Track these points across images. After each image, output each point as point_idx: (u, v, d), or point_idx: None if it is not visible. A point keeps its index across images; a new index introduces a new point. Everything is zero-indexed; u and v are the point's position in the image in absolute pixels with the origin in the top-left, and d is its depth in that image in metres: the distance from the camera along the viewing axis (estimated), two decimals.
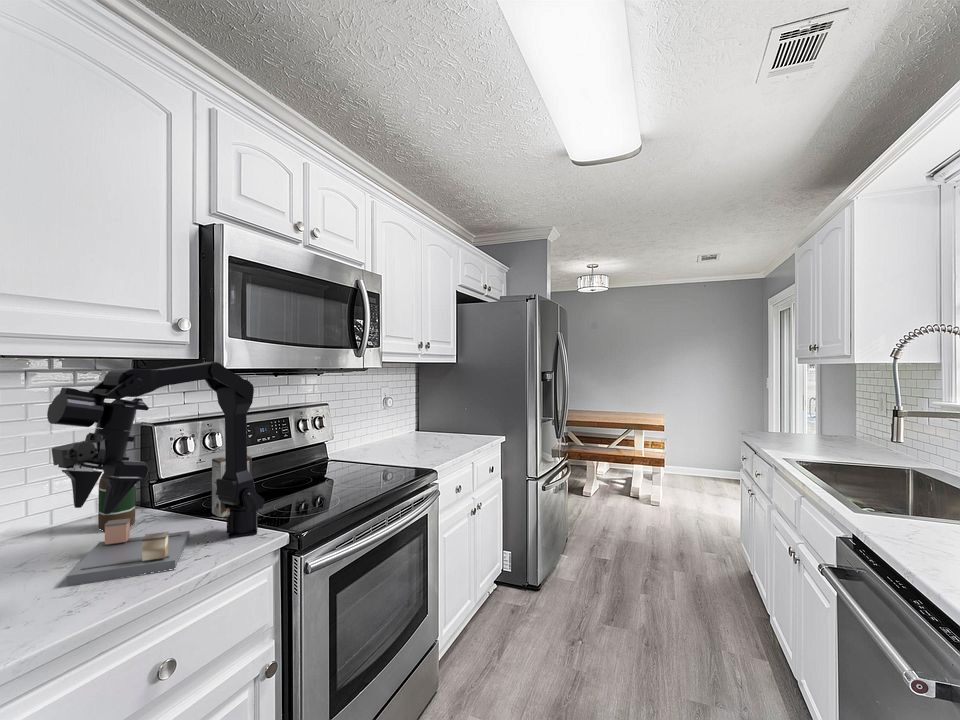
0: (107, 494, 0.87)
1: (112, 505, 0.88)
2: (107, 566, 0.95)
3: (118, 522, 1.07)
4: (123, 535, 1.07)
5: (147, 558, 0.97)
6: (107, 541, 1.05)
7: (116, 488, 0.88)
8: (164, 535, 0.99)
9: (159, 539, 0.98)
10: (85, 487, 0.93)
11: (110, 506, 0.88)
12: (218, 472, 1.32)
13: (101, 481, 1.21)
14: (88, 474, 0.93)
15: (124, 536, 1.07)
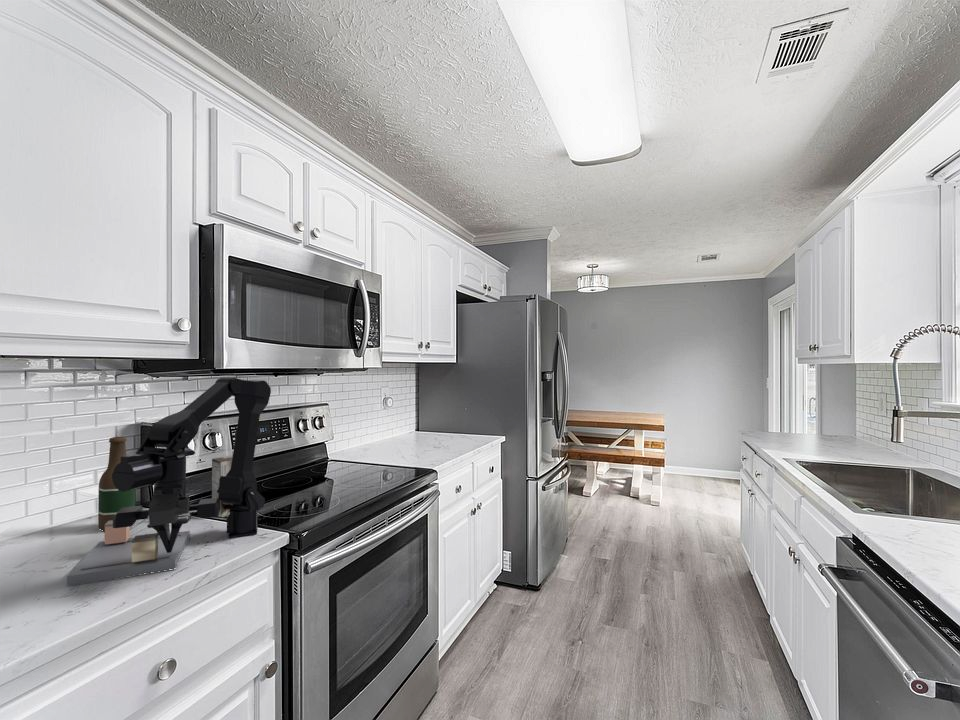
0: (173, 536, 0.99)
1: (174, 543, 1.00)
2: (107, 566, 0.95)
3: None
4: (123, 535, 1.07)
5: (137, 559, 0.96)
6: (107, 541, 1.05)
7: None
8: (154, 536, 0.98)
9: (149, 540, 0.97)
10: (168, 533, 1.00)
11: None
12: (218, 472, 1.32)
13: (101, 481, 1.21)
14: None
15: (124, 536, 1.07)
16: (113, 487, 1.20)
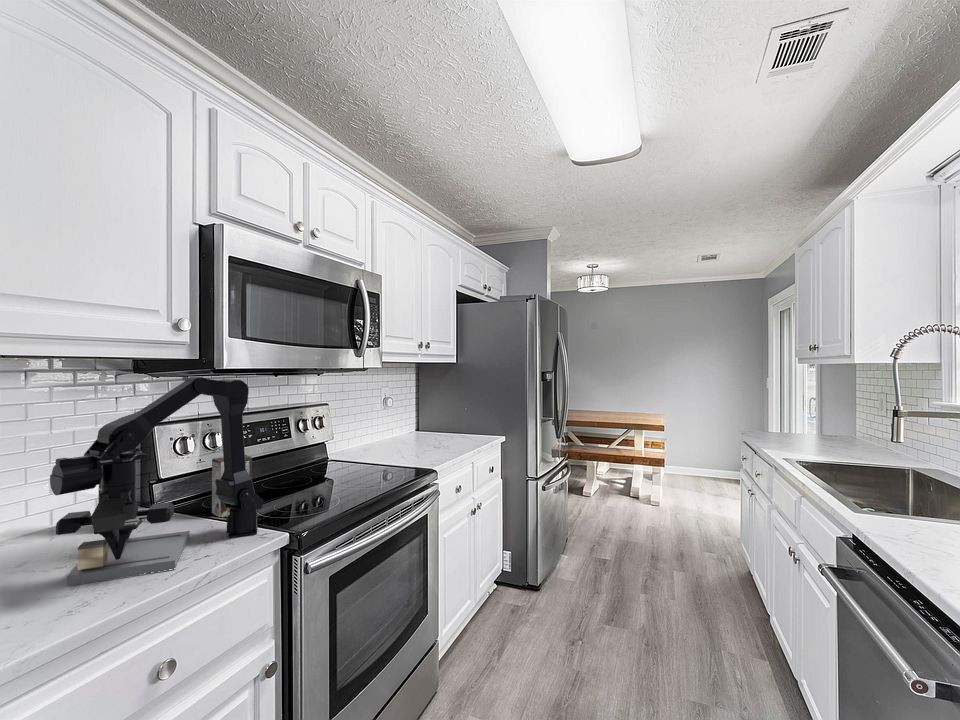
0: (122, 542, 0.95)
1: (123, 550, 0.97)
2: (107, 566, 0.95)
3: None
4: None
5: (83, 567, 0.93)
6: None
7: None
8: (102, 543, 0.94)
9: (96, 547, 0.93)
10: (117, 539, 0.96)
11: (121, 552, 0.96)
12: (218, 472, 1.32)
13: None
14: None
15: None
16: None
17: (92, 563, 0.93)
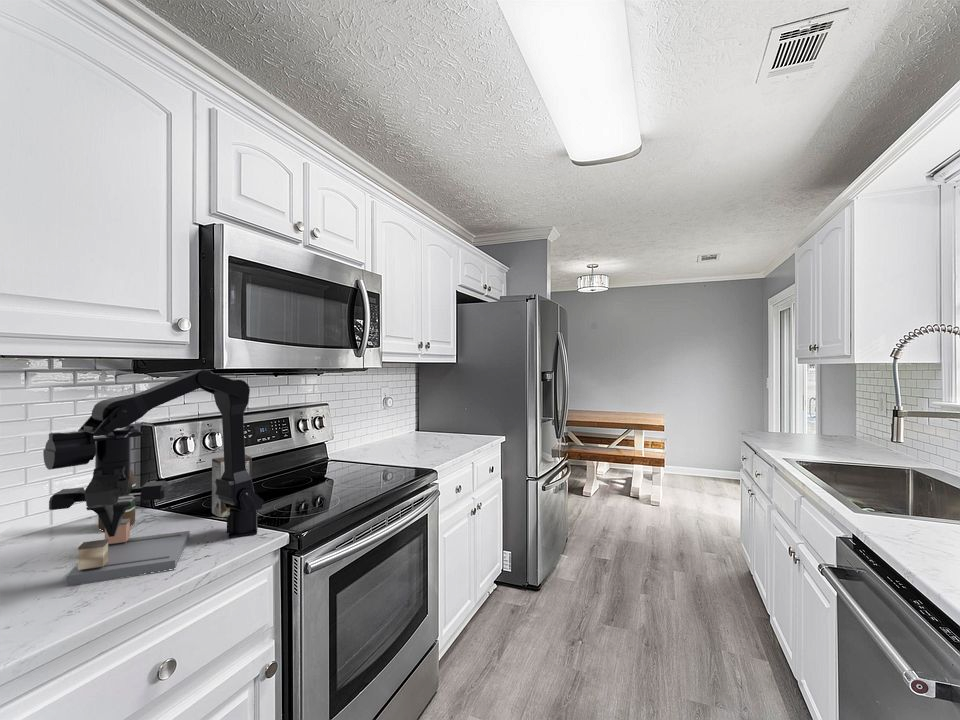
0: (116, 519, 0.95)
1: (117, 527, 0.96)
2: (107, 566, 0.95)
3: None
4: (123, 535, 1.07)
5: (83, 567, 0.93)
6: None
7: None
8: (102, 543, 0.94)
9: (97, 547, 0.93)
10: (111, 516, 0.96)
11: (116, 529, 0.96)
12: (218, 472, 1.32)
13: None
14: (109, 504, 0.96)
15: (124, 536, 1.07)
16: None
17: (92, 563, 0.93)
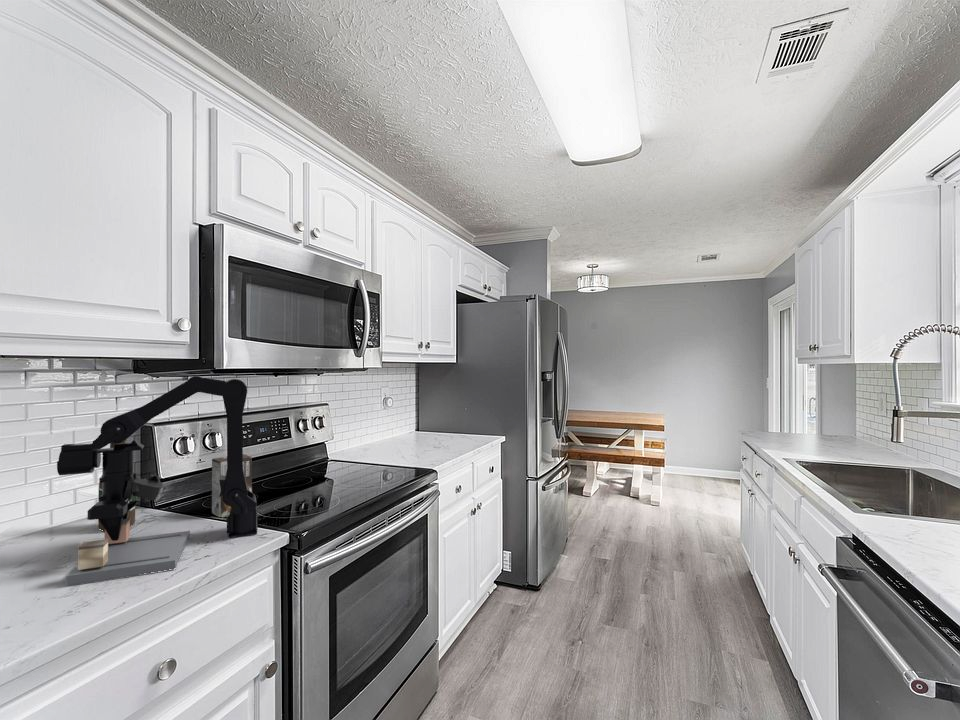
0: (127, 517, 1.10)
1: None
2: (107, 566, 0.95)
3: None
4: (123, 535, 1.07)
5: (83, 567, 0.93)
6: None
7: None
8: (102, 543, 0.94)
9: (97, 547, 0.93)
10: None
11: None
12: (218, 472, 1.32)
13: None
14: None
15: (124, 536, 1.07)
16: None
17: (92, 563, 0.93)
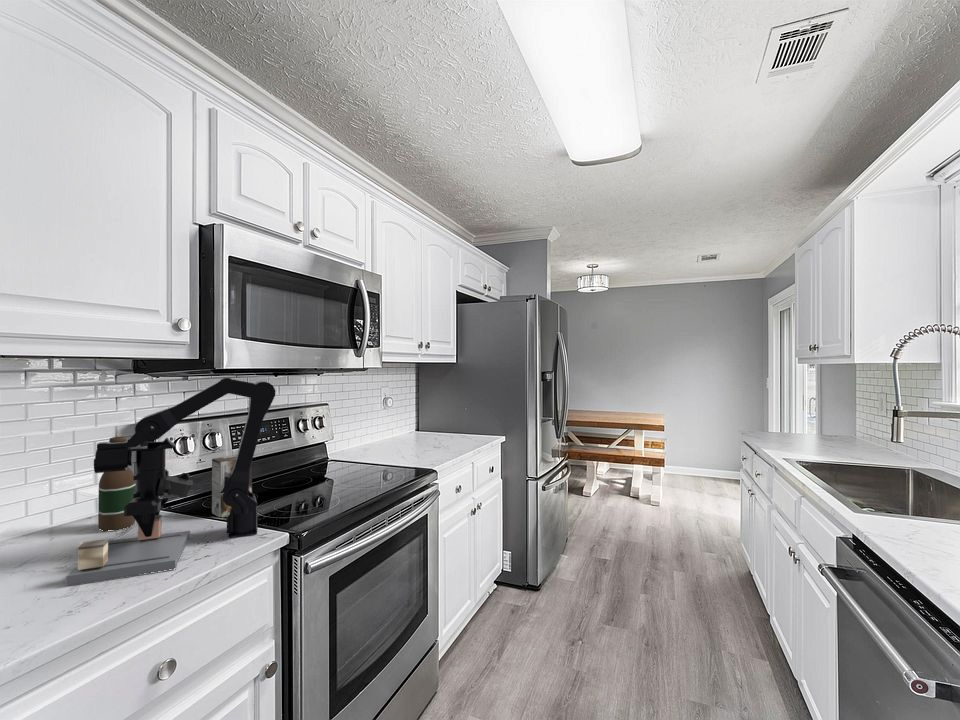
0: (158, 514, 1.13)
1: None
2: (107, 566, 0.95)
3: None
4: (155, 531, 1.09)
5: (83, 567, 0.93)
6: (140, 537, 1.08)
7: None
8: (102, 543, 0.94)
9: (97, 547, 0.93)
10: None
11: None
12: (218, 472, 1.32)
13: (101, 481, 1.21)
14: None
15: (157, 532, 1.09)
16: (113, 487, 1.20)
17: (92, 563, 0.93)
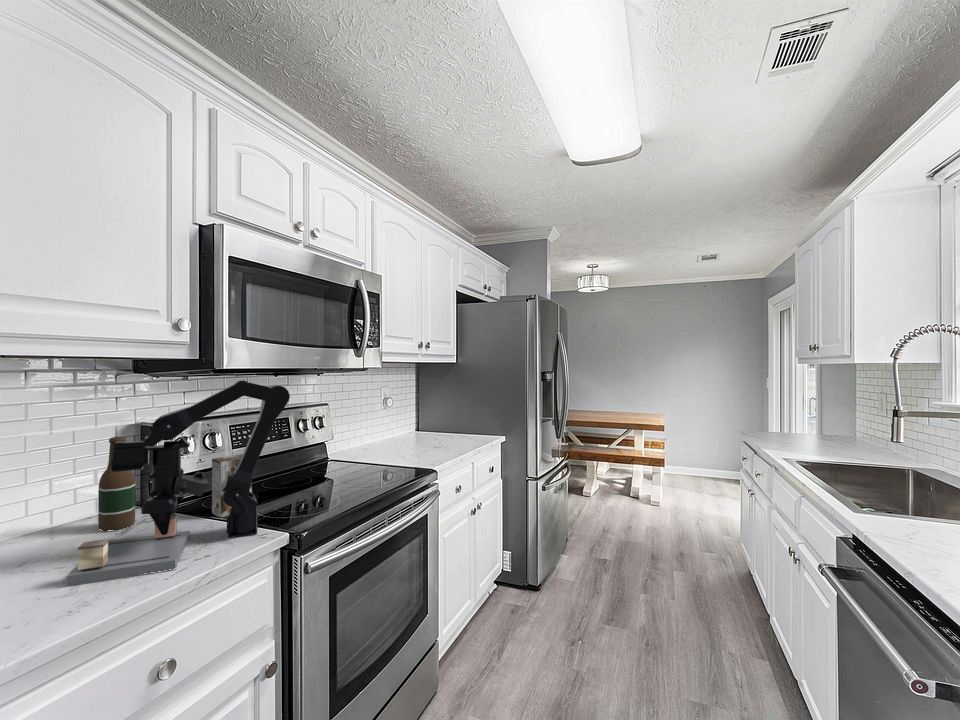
0: None
1: None
2: (107, 566, 0.95)
3: None
4: (171, 529, 1.11)
5: (83, 567, 0.93)
6: (157, 535, 1.09)
7: None
8: (102, 543, 0.94)
9: (97, 547, 0.93)
10: None
11: None
12: (218, 472, 1.32)
13: (101, 481, 1.21)
14: None
15: (172, 530, 1.11)
16: (113, 487, 1.20)
17: (92, 563, 0.93)
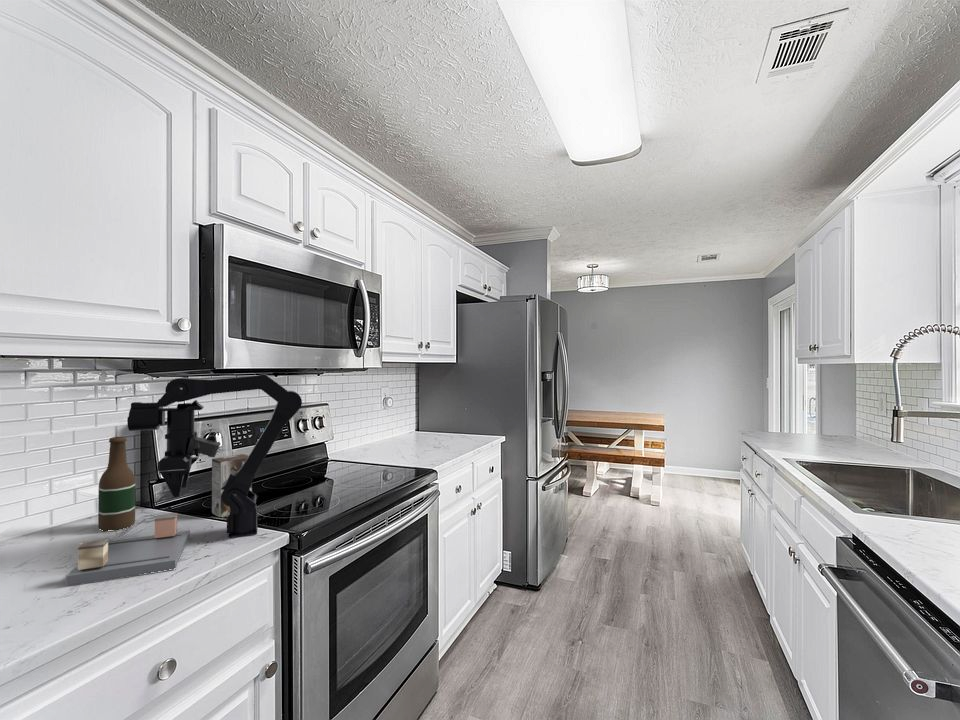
0: (189, 471, 1.20)
1: None
2: (107, 566, 0.95)
3: (167, 517, 1.11)
4: (172, 529, 1.11)
5: (83, 567, 0.93)
6: (157, 535, 1.09)
7: None
8: (102, 543, 0.94)
9: (97, 547, 0.93)
10: None
11: None
12: (218, 472, 1.32)
13: (101, 481, 1.21)
14: None
15: (173, 530, 1.11)
16: (113, 487, 1.20)
17: (92, 563, 0.93)
